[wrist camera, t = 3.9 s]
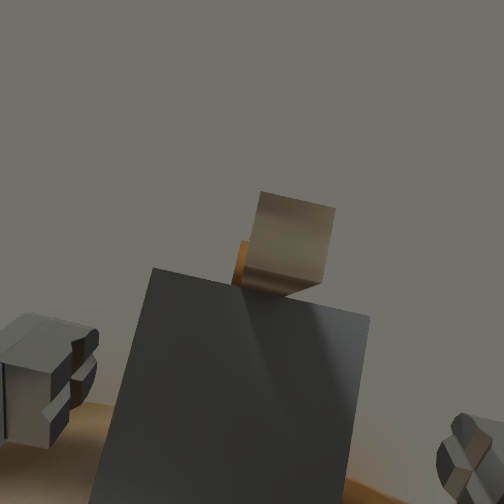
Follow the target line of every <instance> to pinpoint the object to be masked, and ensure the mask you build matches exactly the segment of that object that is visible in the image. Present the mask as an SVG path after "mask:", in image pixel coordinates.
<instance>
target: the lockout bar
mask: <svg viewBox="0 0 504 504" xmlns="http://www.w3.org/2000/svg"><path fill="white" fill-rule="evenodd" d="M335 209H336V208H333V207H328V206H324V205H319V204H315V203H310V202H306V201H302V200H297V199H293V198H289V197H284V196H280V195H275V194H271V193H266V192H262V191H261V193H260V197H259V202H258V206H257V211H256V215H255V219H254V224H253V228H252V233H251V237H250V241H249V242H247V241H241V244H240V249H239V253H238V257H237V262H236V266H235V270H234V274H233V279H232V283H231V285H233V286H237V287H242V288H246V289H251V290H255V291H260V292H264V293H269V294H273V295H278V296H282V297H285V296H287V295H290V294H293V293H296V292H298V291H301V290H304V289H307V288H309V287H313V286H315V285H318V284H321V283H322V280H323V275H324V269H325V264H326V258H327V253H328V248H329V242H330V236H331V231H332V226H333V220H334V215H335Z"/></svg>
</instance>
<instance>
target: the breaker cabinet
mask: <svg viewBox="0 0 504 504" xmlns="http://www.w3.org/2000/svg"><path fill="white" fill-rule="evenodd" d="M369 323H370V316H367V315H362V314H358V313H353V312H348V311H344V310H340V309H336V308H331V307H327V306H322V305H317V304H313V303H309V302H304V301H300V300H295V299H291V298H287V297H282V296H278V295H273V294H269V293H264V292H260V291H255V290H251V289H246V288H242V287H237V286H233V285H229V284H224V283H220V282H215V281H211V280H206V279H202V278H197V277H193V276H188V275H184V274H179V273H175V272H171V271H166V270H161V269H157V268H153V269H152V273H151V277H150V280H149V284H148V288H147V291H146V295H145V299H144V303H143V306H142V310H141V313H140V317H139V321H138V325H137V328H136V332H135V335H134V339H133V343H132V346H131V350H130V354H129V357H128V361H127V365H126V368H125V372H124V376H123V379H122V383H121V387H120V390H119V394H118V398H117V402H116V405H115V408H114V412H113V416H112V419H111V423H110V427H109V430H108V434H107V438H106V441H105V445H104V449H103V452H102V456H101V460H100V463H99V467H98V471H97V474H96V478H95V482H94V485H93V489H92V493H91V496H90V500H89V503H88V504H341V502H342V495H343V489H344V483H345V476H346V470H347V463H348V457H349V451H350V444H351V437H352V431H353V425H354V418H355V412H356V406H357V399H358V393H359V387H360V380H361V374H362V367H363V361H364V354H365V348H366V341H367V335H368V329H369Z"/></svg>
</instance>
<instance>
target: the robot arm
mask: <svg viewBox="0 0 504 504" xmlns="http://www.w3.org/2000/svg"><path fill="white" fill-rule="evenodd" d="M98 345H99V332H98V330H97V329H96V328H92V327H88V326H84V325H80V324H77V323H72V322H69V321H65V320H61V319H57V318H51V317H48V316H44V315H40V314H35V313H24V314H22V315H21V316H20V317H18V318H17V319H16V320H14V321H13V322H11V323H10V324H9V325H7V326H6V327H5V328H3V329H2V330H0V446H1V445H3V444H4V443H5V441H9V442H14V443H20V444H25V445H30V446H35V447H40V448H45V449H50V447H51V446H52V445H53V443H54V442H55V440H56V439H57V438H58V436H59V435H60V433H61V432H62V431H63V429H64V428H65V427H66V425H67V424H68V422H69V411H70V410H72V409H74V408H76V407H78V406H80V405H81V404H82V403H83V401H84V399H85V398H86V397H87V395H88V393H89V391H90V389H91V387H92V384H93V382H94V379H95V374H96V370H97V361H96V359H95V357H94V356H93V354H92V353H93V351H94V350H95V349H96V348H97V346H98ZM451 429H452V433H453V435H452V436H450V437H448V438H447V439H445V440H443V441H442V443H441V445H440V447H439V449H438V451H437V459H436V468H437V472H438V476H439V479H440V481H441V484H442V486H443V488H444V489H445V490H446V491H447V492H448V493H449V494H450V495H451V496H452V497H453V498H454V499H455V504H504V422H500V421H495V420H491V419H487V418H482V417H478V416H473V415H468V414H465V413H461V414H459V415H458V416H456V417H455V419H454V421H453V422H452V424H451Z"/></svg>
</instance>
